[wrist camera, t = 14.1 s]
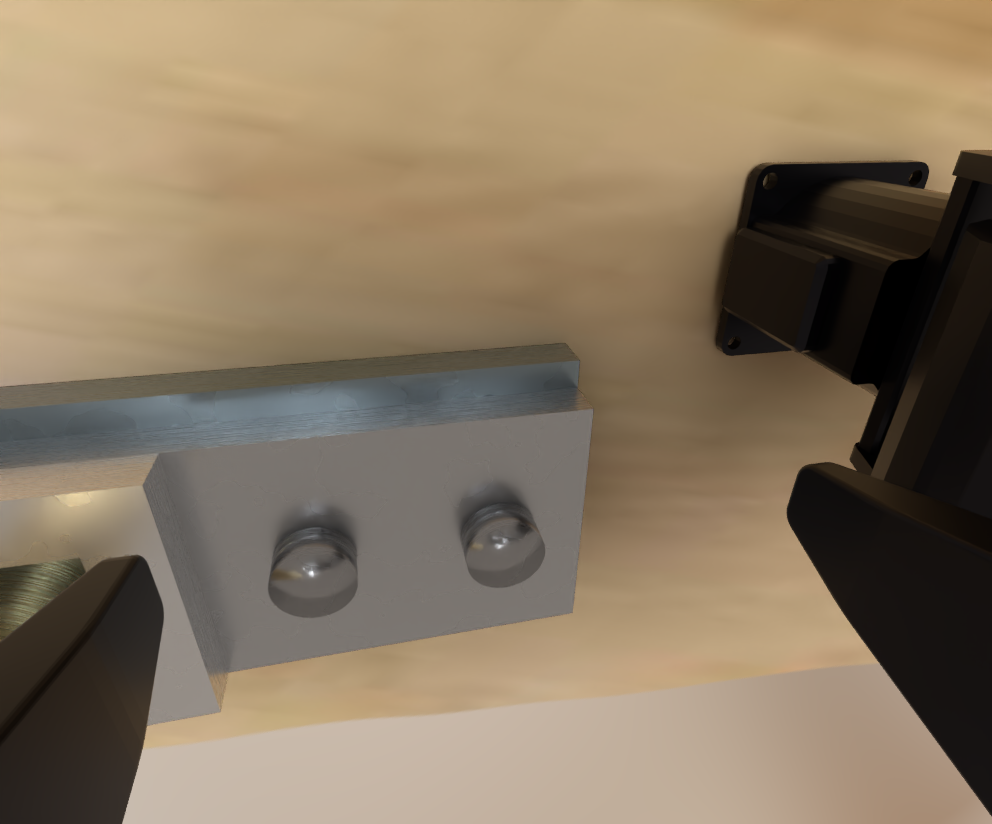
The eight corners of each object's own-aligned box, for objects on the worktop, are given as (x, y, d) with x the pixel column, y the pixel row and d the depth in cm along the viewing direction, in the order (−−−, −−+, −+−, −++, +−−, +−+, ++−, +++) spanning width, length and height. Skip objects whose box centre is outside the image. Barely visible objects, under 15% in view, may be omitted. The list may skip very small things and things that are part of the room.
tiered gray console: (565, 343, 20) (615, 402, 17) (548, 576, 26) (583, 662, 22) (-199, 402, 16) (-368, 501, 12) (-29, 668, 21) (-111, 795, 18)
